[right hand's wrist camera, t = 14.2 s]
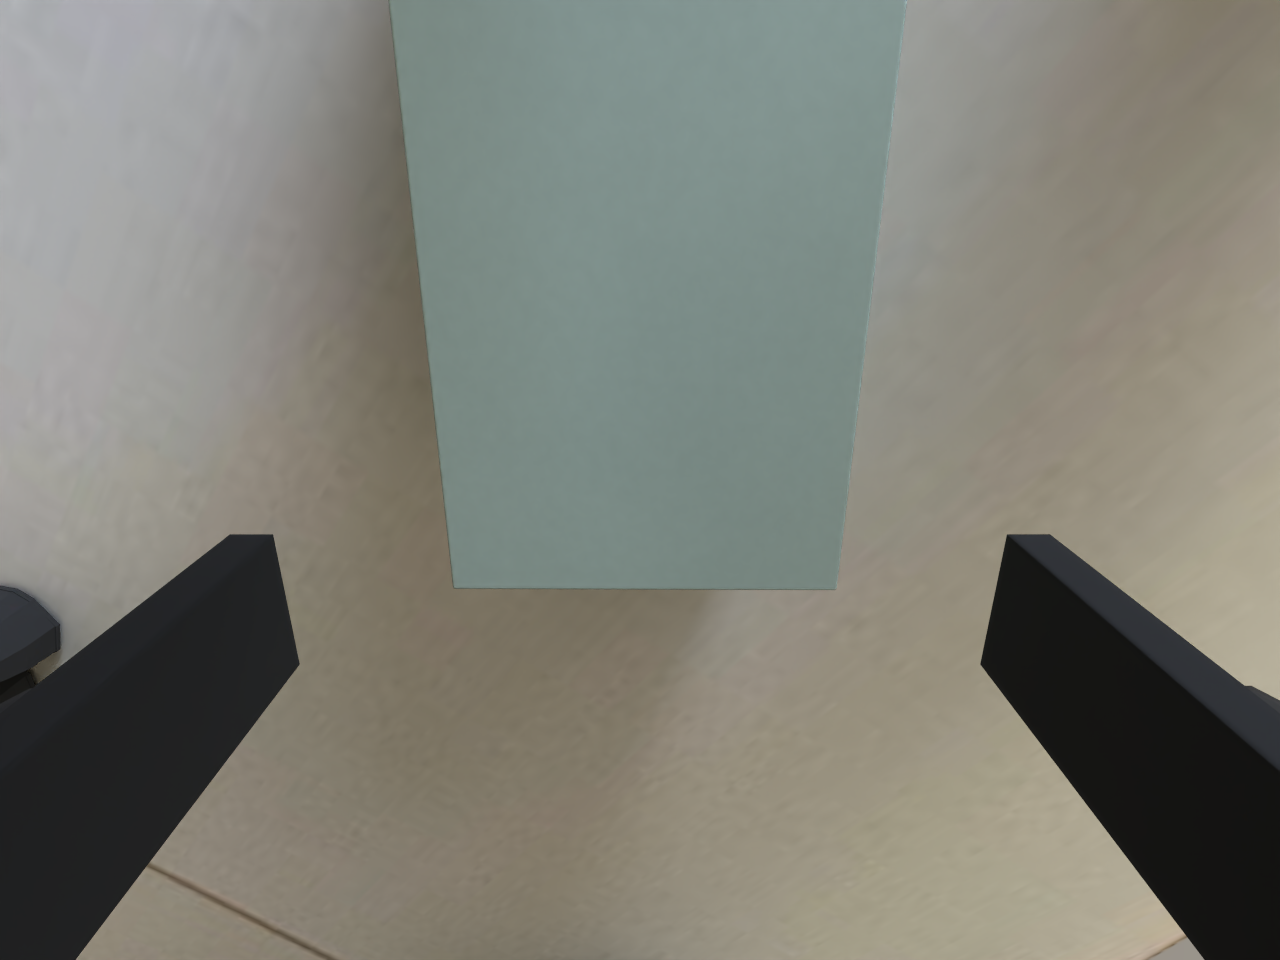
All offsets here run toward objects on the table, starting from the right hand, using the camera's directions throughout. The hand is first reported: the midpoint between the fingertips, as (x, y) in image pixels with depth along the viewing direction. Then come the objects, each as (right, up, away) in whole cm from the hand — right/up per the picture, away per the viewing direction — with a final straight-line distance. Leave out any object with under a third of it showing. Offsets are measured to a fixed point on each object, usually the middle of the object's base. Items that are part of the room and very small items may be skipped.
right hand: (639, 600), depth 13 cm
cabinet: (0, +11, +15) cm, 18 cm away
